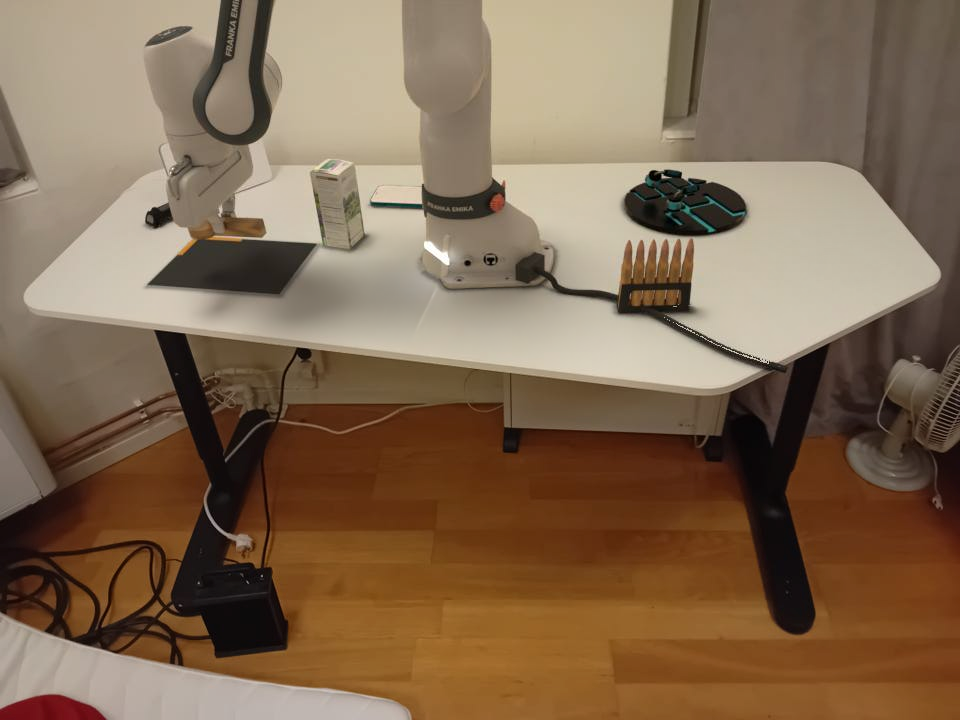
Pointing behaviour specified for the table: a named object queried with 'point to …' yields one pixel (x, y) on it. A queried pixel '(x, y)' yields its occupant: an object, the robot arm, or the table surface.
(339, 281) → the table surface
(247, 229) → the orange wooden ladle
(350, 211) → the syrup box
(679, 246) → the ammunition clip
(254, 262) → the mat
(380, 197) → the smartphone
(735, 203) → the platform
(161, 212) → the electric trimmer
